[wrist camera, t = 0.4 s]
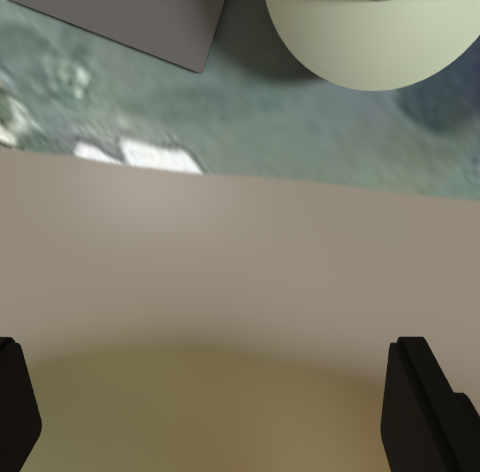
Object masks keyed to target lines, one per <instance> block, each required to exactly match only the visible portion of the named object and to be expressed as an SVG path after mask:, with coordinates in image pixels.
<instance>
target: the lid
mask: <svg viewBox="0 0 480 472" xmlns="http://www.w3.org/2000/svg"><path fill="white" fill-rule="evenodd" d="M266 5H267V8H268V11H269V14H270V17H271V20H272V22H273V24H274V26H275V28H276V31H277V33H278V35H279V36H280V38H281V39H282V41H283V42H284V44H285V46H286V47H287V48H288V50H289V51H290V52H291V53H292V54H293V55H294V57H295V58H296V59H297V60H298V61H299V62H301V63H302V64H303V65H304V66H305V67H306V68H307V69H309V70H310V71H312V72H313V73H315V74H316V75H318V76H319V77H321V78H323V79H325V80H327V81H329V82H331V83H333V84H336V85H339V86H343V87H346V88H350V89H356V90H362V91H382V90H392V89H396V88H400V87H405V86H408V85H411V84H414V83H416V82H419V81H422V80H424V79H426V78H428V77H430V76H431V75H433V74H435V73H437V72H439V71H440V70H442V69H443V68H445V67H446V66H447V65H449V64H450V63H452V62H453V61H454V60H455V59H456V58H458V57H459V56H460V55H461V54H462V53H463V52H464V51H465V50H466V49H467V48H468V47H469V46H470V45H471V44H472V43H473V42H474V41H475V40H476V39H477V37H478V36H479V35H480V0H266Z"/></svg>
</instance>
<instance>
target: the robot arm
mask: <svg viewBox="0 0 480 472" xmlns="http://www.w3.org/2000/svg"><path fill="white" fill-rule="evenodd" d="M41 429H42V421H41V417H40V414H39V410H38V406H37V403H36V399H35V395H34V391H33V388H32V384H31V381H30V377H29V373H28V370H27V366H26V362H25V359H24V355H23V351H22V348H21V345H20V344H19V343H15V340H13V338H11V337H0V472H19V471H20V470H21V468H22V466H23V465H24V463H25V461H26V459H27V457H28V456H29V454H30V452H31V450H32V449H33V447H34V445H35V443H36V442H37V440H38V438H39V436H40V433H41ZM381 438H382V442H383V445H384V449H385V452H386V456H387V459H388V463H389V466H390V469H391V472H480V416H479V415H478V413H477V411H476V410H475V408H474V406H473V404H472V402H471V401H470V399H469V398H468V396H467V395H466V394H464V393H454V392H453V390H452V388H451V387H450V385H449V383H448V381H447V379H446V377H445V375H444V373H443V371H442V370H441V368H440V366H439V364H438V362H437V360H436V358H435V356H434V355H433V353H432V351H431V349H430V347H429V345H428V343H427V342H426V340H425V339H424V337H399V338H398V340H397V343H391V344H390V347H389V355H388V364H387V372H386V381H385V390H384V399H383V408H382V417H381Z"/></svg>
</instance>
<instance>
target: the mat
mask: <svg viewBox="0 0 480 472" xmlns="http://www.w3.org/2000/svg"><path fill="white" fill-rule="evenodd" d="M12 1H15V2H18V3H20V4H23V5H25V6H28V7H30V8H33V9H36V10H38V11H41V12H43V13H46V14H49V15H51V16H54V17H56V18H59V19H61V20H64V21H67V22H69V23H72V24H74V25H77V26H80V27H82V28H85V29H87V30H90V31H92V32H95V33H98V34H100V35H103V36H105V37H108V38H111V39H113V40H116V41H118V42H121V43H123V44H126V45H129V46H131V47H134V48H136V49H139V50H141V51H144V52H147V53H149V54H152V55H154V56H157V57H160V58H162V59H165V60H167V61H170V62H172V63H175V64H178V65H180V66H183V67H185V68H188V69H191V70H193V71H196V72H198V73H201V74H202V73H203V70H204V67H205V64H206V61H207V57H208V54H209V51H210V48H211V45H212V41H213V38H214V35H215V32H216V29H217V26H218V22H219V19H220V16H221V13H222V10H223V6H224V3H225V0H12Z"/></svg>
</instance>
